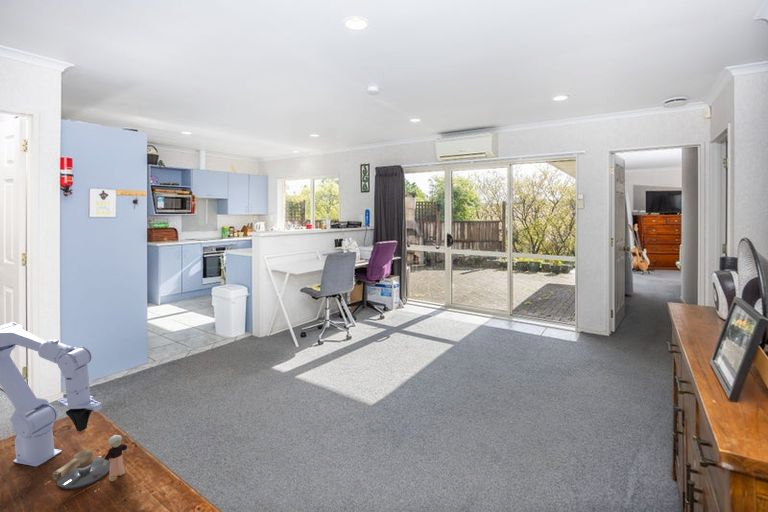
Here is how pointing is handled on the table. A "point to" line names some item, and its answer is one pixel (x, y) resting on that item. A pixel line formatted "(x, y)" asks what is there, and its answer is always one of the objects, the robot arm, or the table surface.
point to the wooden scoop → (74, 464)
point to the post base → (85, 475)
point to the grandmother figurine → (115, 457)
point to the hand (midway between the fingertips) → (82, 429)
